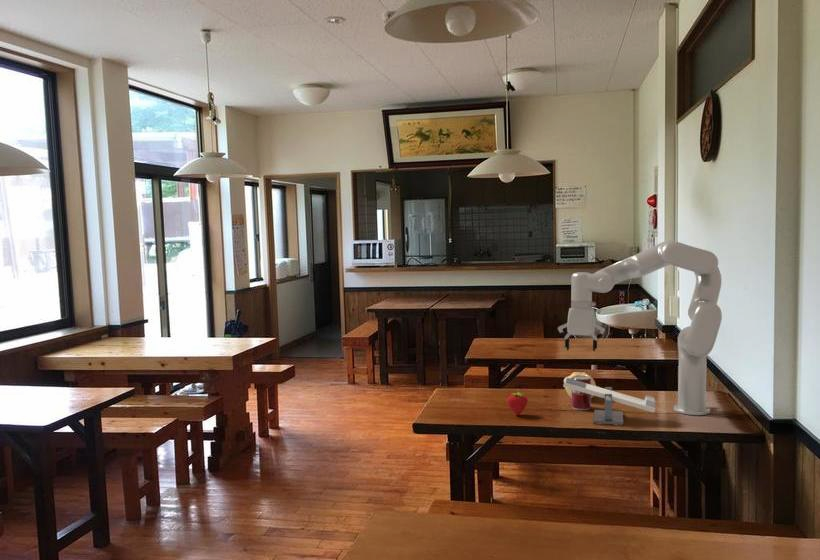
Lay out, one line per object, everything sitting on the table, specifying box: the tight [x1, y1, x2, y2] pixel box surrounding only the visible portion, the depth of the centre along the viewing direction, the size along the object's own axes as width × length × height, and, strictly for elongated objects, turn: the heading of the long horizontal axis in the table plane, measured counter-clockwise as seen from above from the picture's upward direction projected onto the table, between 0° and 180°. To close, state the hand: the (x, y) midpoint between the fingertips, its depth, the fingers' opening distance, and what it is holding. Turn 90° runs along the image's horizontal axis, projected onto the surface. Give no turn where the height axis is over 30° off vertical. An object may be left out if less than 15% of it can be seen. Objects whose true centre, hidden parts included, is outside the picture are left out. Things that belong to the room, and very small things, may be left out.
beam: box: [562, 377, 657, 414], centre depth 242 cm, size 32×8×4 cm, turn 74°
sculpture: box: [563, 371, 597, 399], centre depth 271 cm, size 11×12×11 cm
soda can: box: [571, 375, 592, 411], centre depth 257 cm, size 7×7×12 cm
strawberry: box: [506, 388, 528, 416], centre depth 250 cm, size 6×8×10 cm
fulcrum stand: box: [593, 386, 624, 426], centre depth 242 cm, size 10×14×10 cm
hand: (580, 349), depth 256 cm, fingers open, 9 cm apart
